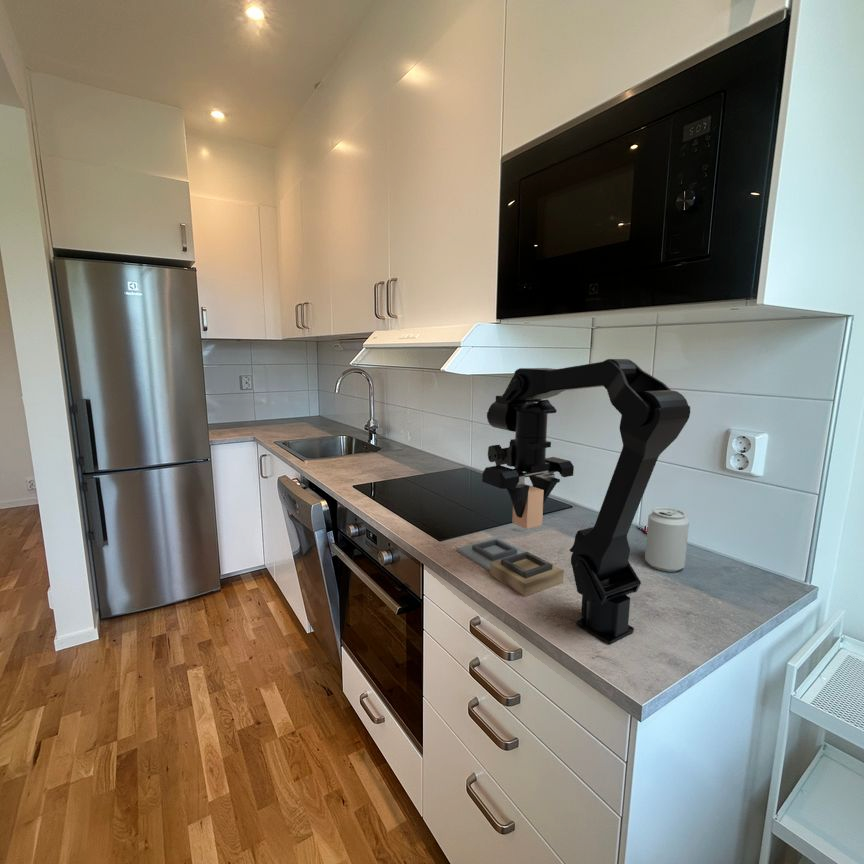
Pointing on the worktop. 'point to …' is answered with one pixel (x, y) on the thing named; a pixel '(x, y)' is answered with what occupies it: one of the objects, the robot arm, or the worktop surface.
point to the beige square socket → (526, 573)
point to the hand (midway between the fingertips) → (527, 514)
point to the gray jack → (489, 551)
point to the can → (667, 539)
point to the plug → (531, 509)
